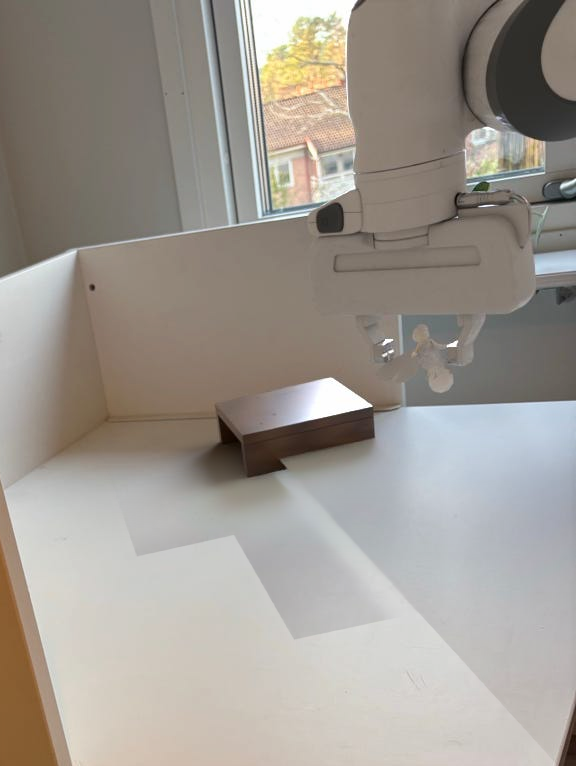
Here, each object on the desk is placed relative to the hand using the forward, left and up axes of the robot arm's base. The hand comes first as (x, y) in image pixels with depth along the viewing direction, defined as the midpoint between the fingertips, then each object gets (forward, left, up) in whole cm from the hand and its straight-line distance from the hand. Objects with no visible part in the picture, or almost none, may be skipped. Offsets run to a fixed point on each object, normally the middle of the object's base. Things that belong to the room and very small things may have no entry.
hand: (419, 362), depth 87 cm
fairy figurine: (0, 0, -2) cm, 2 cm away
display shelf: (+6, -26, -14) cm, 30 cm away
